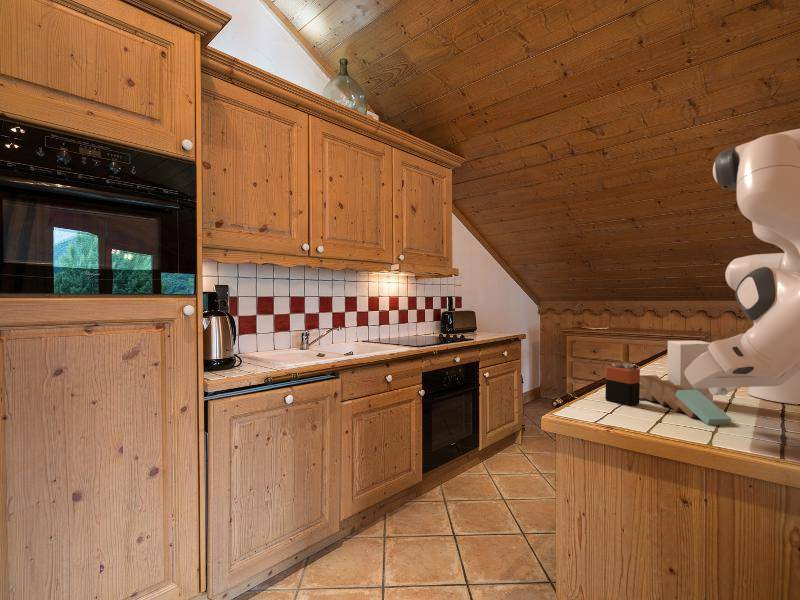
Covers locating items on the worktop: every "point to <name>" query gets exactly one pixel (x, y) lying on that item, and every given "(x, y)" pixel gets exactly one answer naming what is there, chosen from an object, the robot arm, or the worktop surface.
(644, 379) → the domino
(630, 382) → the battery
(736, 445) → the worktop surface
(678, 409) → the domino
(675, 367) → the skincare box
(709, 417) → the domino end
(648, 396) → the domino
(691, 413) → the domino
